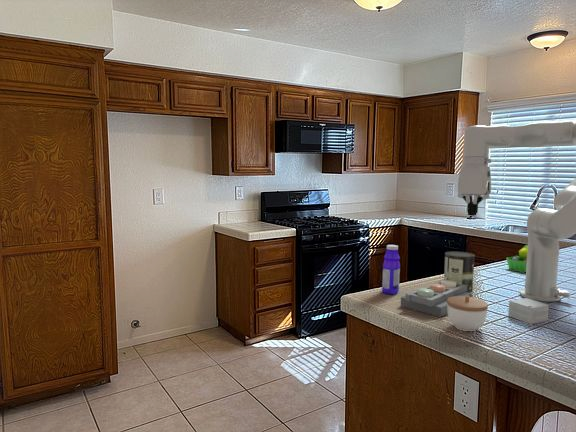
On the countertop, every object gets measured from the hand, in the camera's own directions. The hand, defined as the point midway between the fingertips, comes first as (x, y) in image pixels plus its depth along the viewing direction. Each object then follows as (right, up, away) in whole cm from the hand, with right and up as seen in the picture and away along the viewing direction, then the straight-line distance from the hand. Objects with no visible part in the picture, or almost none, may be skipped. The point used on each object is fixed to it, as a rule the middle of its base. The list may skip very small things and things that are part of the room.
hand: (472, 215), depth 148 cm
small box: (+9, -32, -19) cm, 38 cm away
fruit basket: (+41, -25, +42) cm, 64 cm away
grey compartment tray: (-15, -30, -6) cm, 34 cm away
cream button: (-9, -26, -1) cm, 28 cm away
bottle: (-27, -29, +7) cm, 40 cm away
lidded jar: (-14, -33, -27) cm, 45 cm away
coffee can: (-1, -29, +9) cm, 30 cm away
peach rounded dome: (-15, -27, -7) cm, 31 cm away
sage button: (-20, -27, -12) cm, 36 cm away
